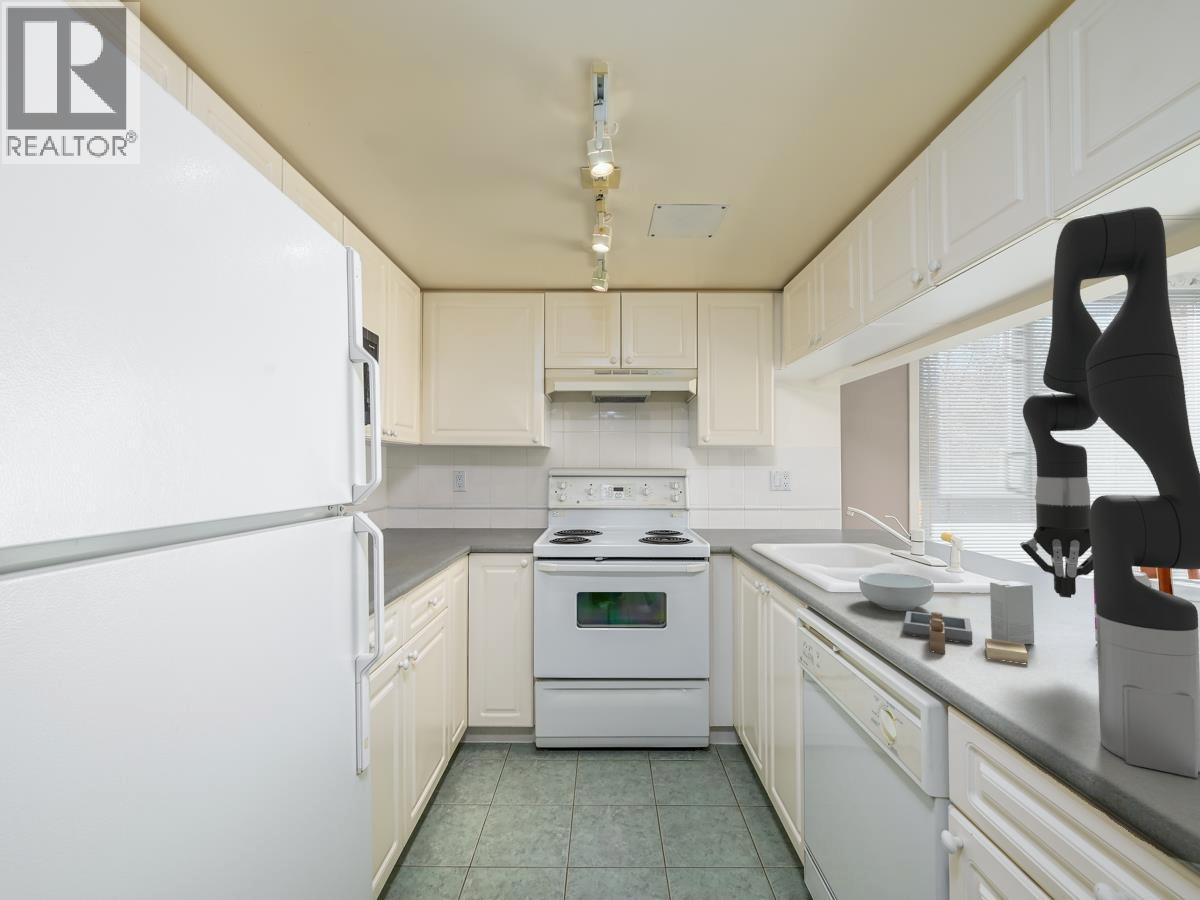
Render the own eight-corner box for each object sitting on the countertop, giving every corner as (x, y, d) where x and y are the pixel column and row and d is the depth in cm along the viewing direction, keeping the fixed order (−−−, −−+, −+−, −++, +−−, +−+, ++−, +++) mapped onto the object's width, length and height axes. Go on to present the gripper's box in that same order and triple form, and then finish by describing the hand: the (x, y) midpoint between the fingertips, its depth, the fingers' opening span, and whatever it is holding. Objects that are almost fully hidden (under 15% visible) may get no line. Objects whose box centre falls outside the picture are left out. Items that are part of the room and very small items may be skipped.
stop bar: (945, 653, 104) (944, 622, 104) (930, 651, 105) (929, 621, 105) (944, 641, 111) (943, 612, 111) (930, 639, 112) (929, 610, 112)
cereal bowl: (882, 594, 148) (881, 569, 148) (947, 608, 134) (946, 580, 134) (845, 605, 139) (845, 577, 139) (911, 620, 125) (910, 590, 125)
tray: (972, 643, 109) (972, 631, 109) (904, 634, 116) (904, 622, 116) (969, 629, 118) (969, 618, 118) (906, 621, 124) (906, 611, 124)
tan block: (1027, 666, 98) (1027, 653, 98) (987, 660, 101) (987, 647, 101) (1023, 656, 103) (1023, 643, 103) (985, 650, 106) (985, 638, 106)
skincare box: (1016, 637, 112) (1015, 579, 112) (1036, 645, 108) (1034, 584, 108) (989, 639, 112) (987, 581, 112) (1008, 646, 107) (1006, 586, 107)
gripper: (1019, 502, 98) (1022, 597, 98) (1117, 504, 91) (1120, 606, 91) (1014, 498, 104) (1016, 587, 104) (1105, 500, 97) (1108, 595, 97)
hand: (1065, 596), depth 98 cm, fingers closed
